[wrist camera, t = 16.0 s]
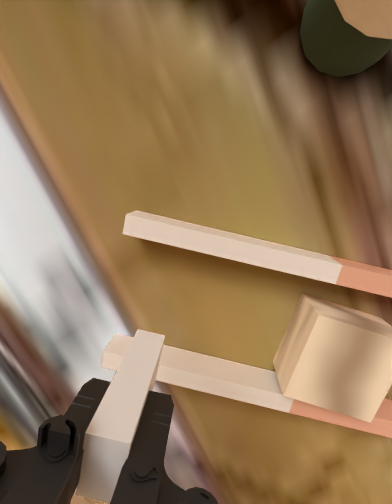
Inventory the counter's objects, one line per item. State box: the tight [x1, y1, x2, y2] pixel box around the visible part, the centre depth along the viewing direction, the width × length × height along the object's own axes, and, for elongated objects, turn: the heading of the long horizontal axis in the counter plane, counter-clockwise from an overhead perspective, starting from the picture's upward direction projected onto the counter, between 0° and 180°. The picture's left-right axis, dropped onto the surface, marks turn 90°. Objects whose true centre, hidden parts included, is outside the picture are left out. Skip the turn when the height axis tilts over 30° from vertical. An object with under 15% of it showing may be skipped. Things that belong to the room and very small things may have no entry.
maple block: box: [273, 293, 392, 423], centre depth 24 cm, size 7×7×4 cm
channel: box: [101, 210, 392, 438], centre depth 24 cm, size 26×13×3 cm, turn 77°
